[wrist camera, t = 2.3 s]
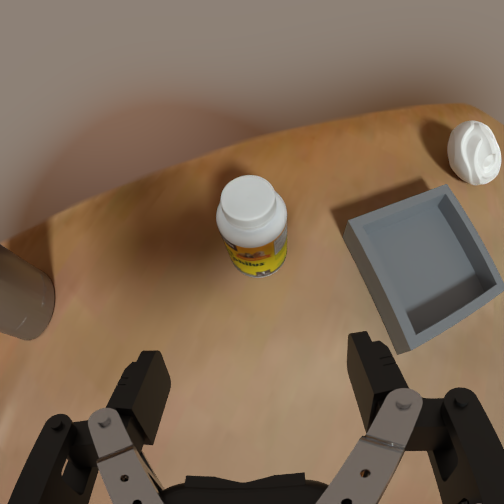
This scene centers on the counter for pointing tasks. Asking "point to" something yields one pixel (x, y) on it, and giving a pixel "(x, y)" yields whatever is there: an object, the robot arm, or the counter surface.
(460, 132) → the white swirled ball
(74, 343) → the counter surface
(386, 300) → the tray
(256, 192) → the supplement bottle
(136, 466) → the robot arm
